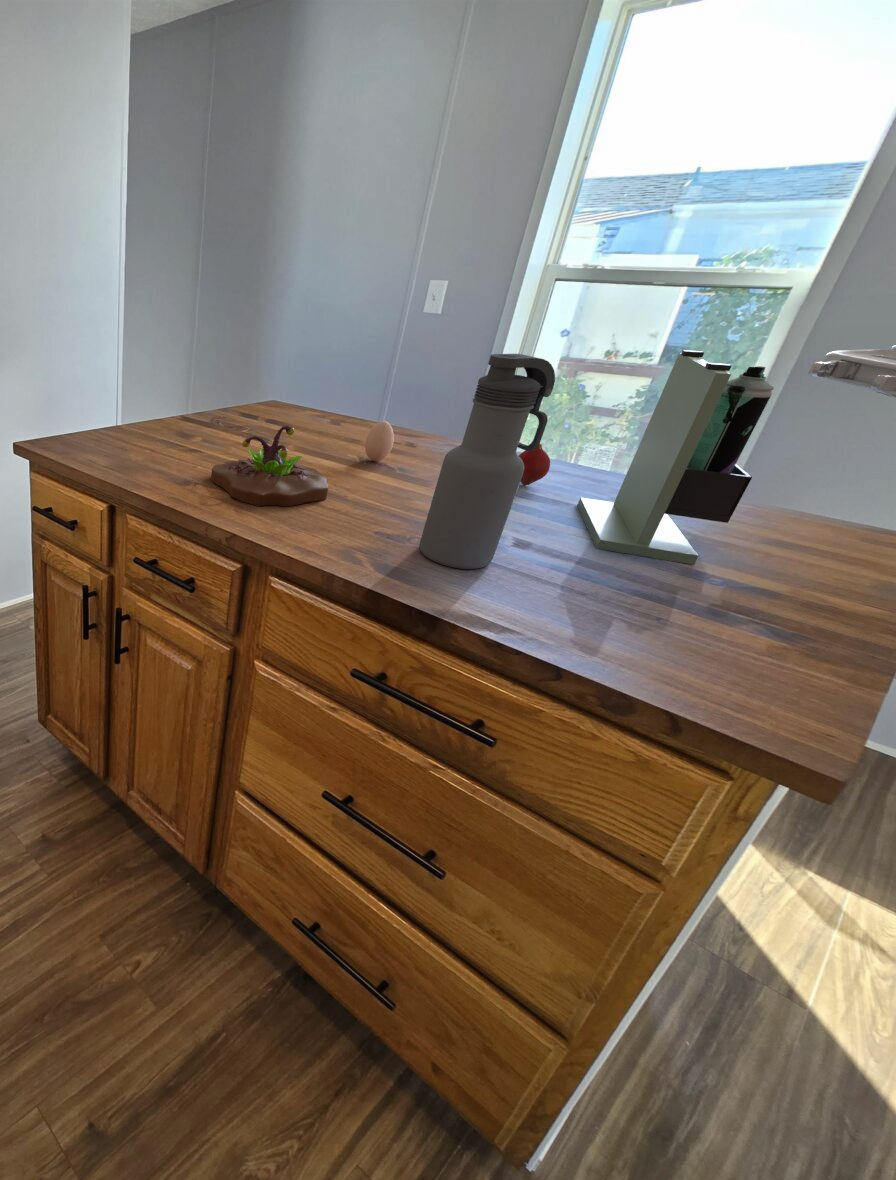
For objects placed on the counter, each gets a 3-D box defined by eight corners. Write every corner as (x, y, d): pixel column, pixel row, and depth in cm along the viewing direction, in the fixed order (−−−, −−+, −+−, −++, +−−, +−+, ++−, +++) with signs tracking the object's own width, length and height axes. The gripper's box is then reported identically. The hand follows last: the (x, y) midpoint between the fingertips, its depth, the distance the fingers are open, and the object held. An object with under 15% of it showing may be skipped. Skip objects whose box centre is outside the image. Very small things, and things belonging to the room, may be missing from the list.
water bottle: (462, 539, 101) (523, 348, 87) (509, 568, 93) (585, 362, 79) (403, 544, 99) (457, 350, 85) (446, 574, 91) (513, 363, 77)
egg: (389, 459, 137) (398, 419, 133) (387, 466, 132) (397, 425, 128) (362, 455, 139) (371, 416, 134) (360, 462, 134) (369, 422, 130)
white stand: (685, 521, 109) (769, 353, 96) (724, 570, 93) (831, 376, 80) (577, 505, 115) (642, 344, 102) (596, 548, 99) (676, 364, 86)
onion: (503, 478, 127) (516, 437, 123) (535, 481, 126) (550, 440, 122) (513, 488, 122) (527, 446, 118) (547, 491, 121) (562, 448, 117)
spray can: (712, 512, 96) (784, 371, 86) (665, 503, 100) (731, 366, 90) (714, 503, 100) (784, 366, 90) (669, 494, 103) (732, 361, 93)
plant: (347, 502, 115) (361, 439, 109) (245, 510, 110) (254, 445, 105) (291, 466, 131) (300, 410, 126) (200, 472, 127) (206, 414, 122)
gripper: (1023, 421, 82) (907, 417, 82) (867, 387, 99) (772, 384, 100) (1061, 368, 79) (940, 365, 79) (892, 343, 96) (794, 340, 97)
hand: (845, 375), depth 90 cm, fingers open, 8 cm apart
